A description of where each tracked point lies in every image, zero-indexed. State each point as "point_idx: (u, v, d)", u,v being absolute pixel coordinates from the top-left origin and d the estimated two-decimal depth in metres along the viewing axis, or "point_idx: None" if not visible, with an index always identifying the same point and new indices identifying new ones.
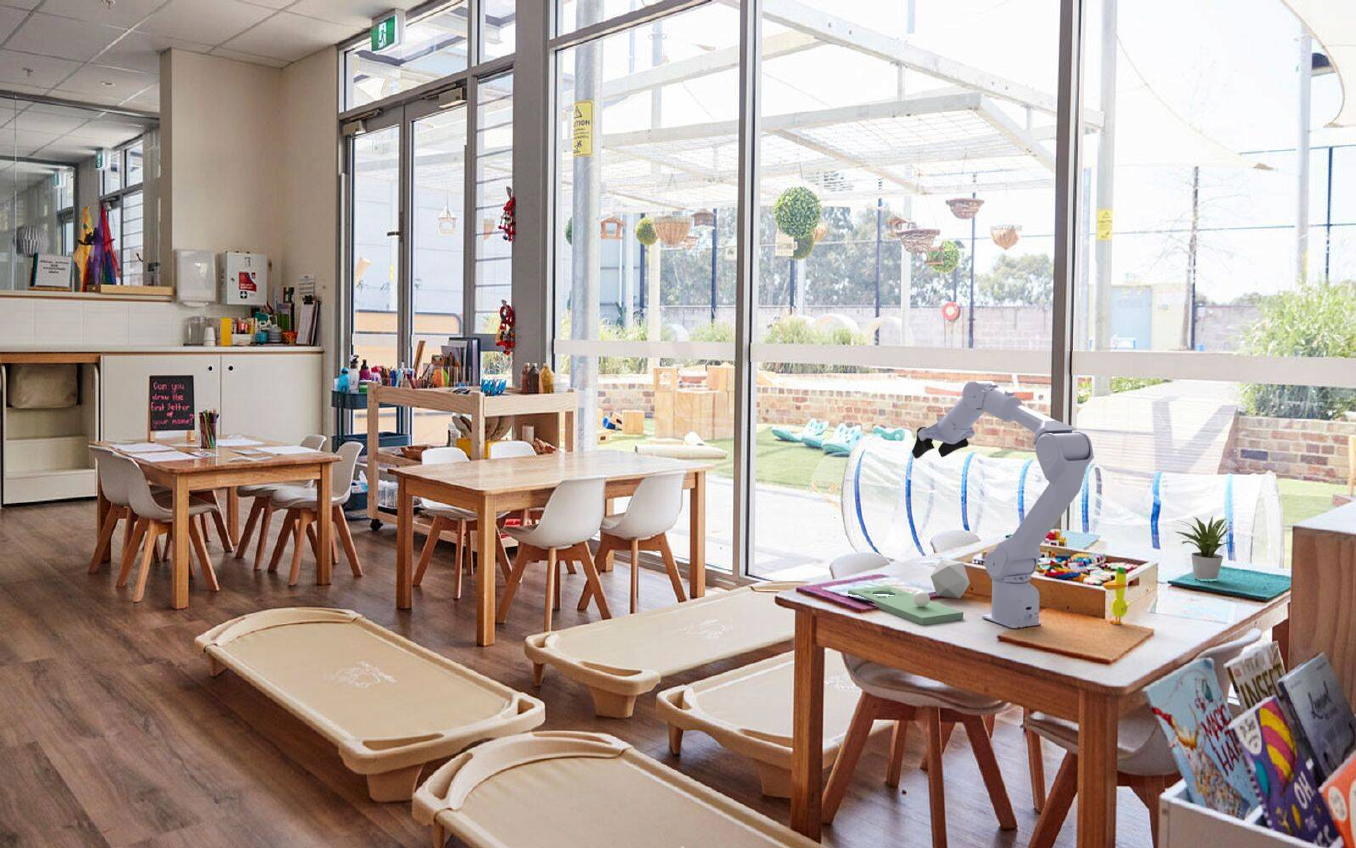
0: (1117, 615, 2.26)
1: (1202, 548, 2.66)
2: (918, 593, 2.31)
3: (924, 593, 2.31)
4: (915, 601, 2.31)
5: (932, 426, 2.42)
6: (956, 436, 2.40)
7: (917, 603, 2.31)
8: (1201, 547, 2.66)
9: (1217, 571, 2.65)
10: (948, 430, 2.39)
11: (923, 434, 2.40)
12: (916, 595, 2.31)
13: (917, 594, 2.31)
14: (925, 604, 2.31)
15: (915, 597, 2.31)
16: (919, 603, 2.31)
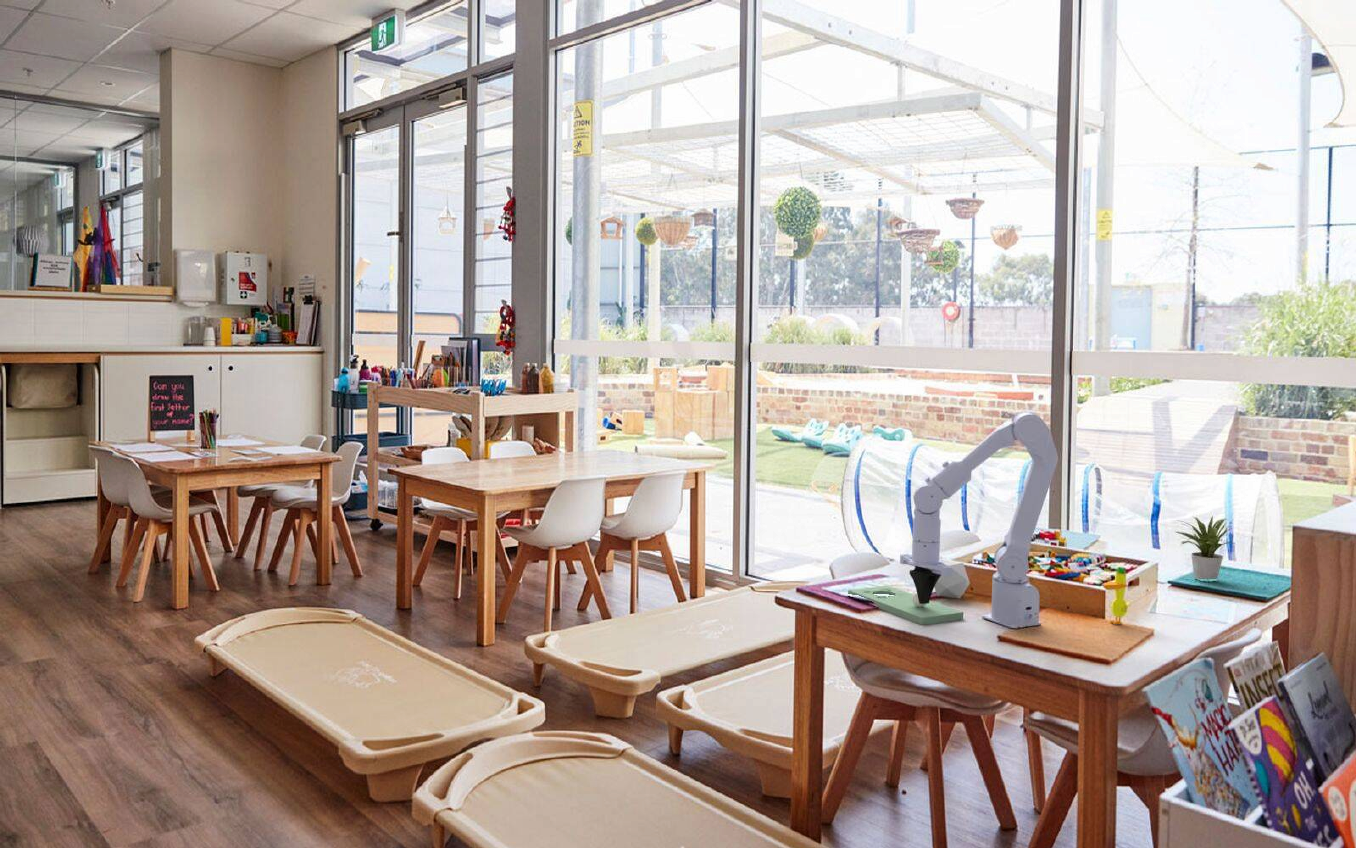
0: (1117, 615, 2.26)
1: (1202, 548, 2.66)
2: (915, 593, 2.32)
3: None
4: (914, 601, 2.32)
5: None
6: None
7: (916, 602, 2.31)
8: (1201, 547, 2.66)
9: (1217, 571, 2.65)
10: (938, 551, 2.29)
11: (950, 568, 2.24)
12: (913, 595, 2.32)
13: (914, 594, 2.32)
14: None
15: (913, 597, 2.32)
16: (918, 601, 2.31)
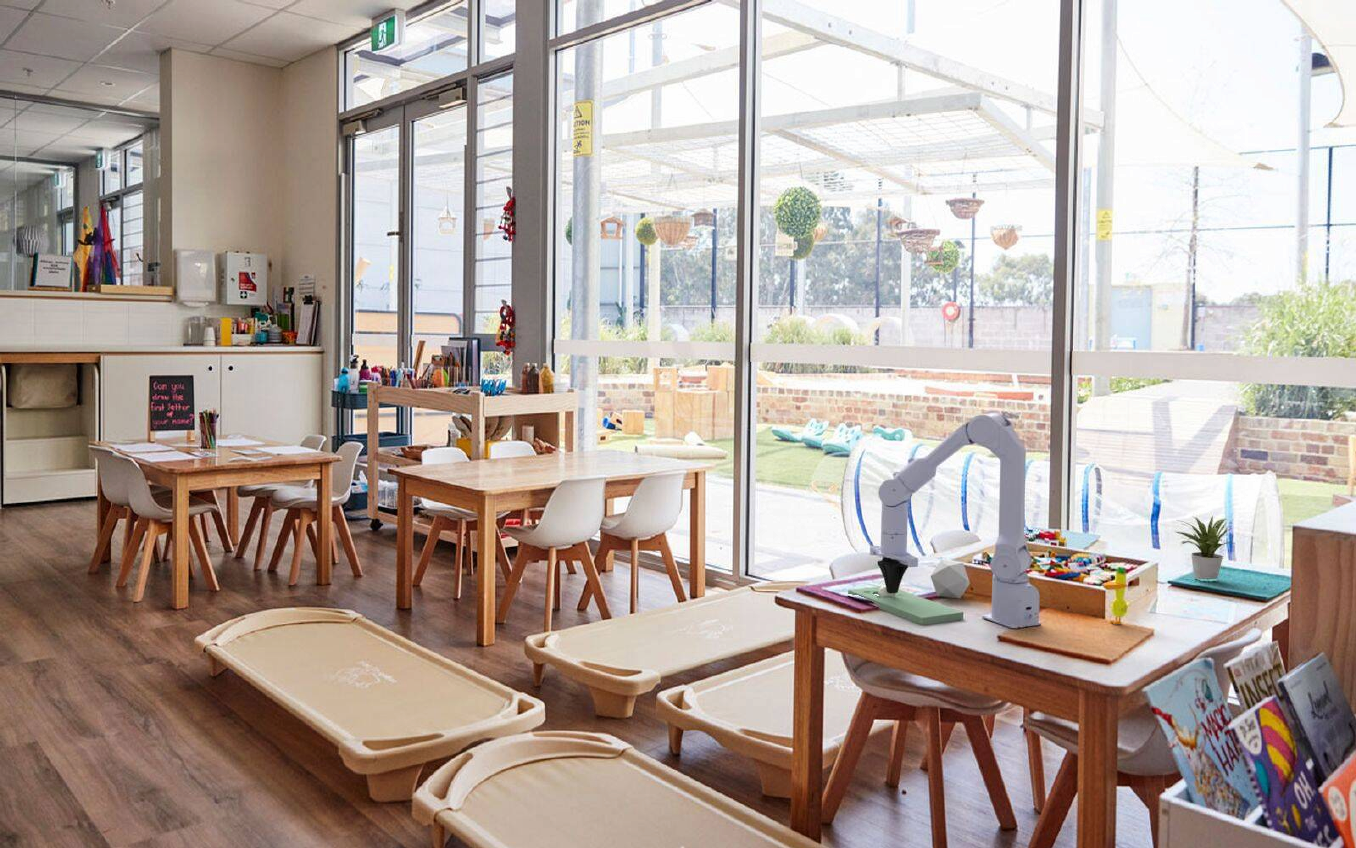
0: (1117, 615, 2.26)
1: (1202, 548, 2.66)
2: None
3: None
4: (881, 594, 2.42)
5: None
6: None
7: (883, 592, 2.42)
8: (1201, 547, 2.66)
9: (1217, 571, 2.65)
10: (905, 543, 2.39)
11: (916, 559, 2.34)
12: (878, 591, 2.43)
13: (878, 591, 2.44)
14: None
15: (879, 592, 2.43)
16: (884, 590, 2.42)
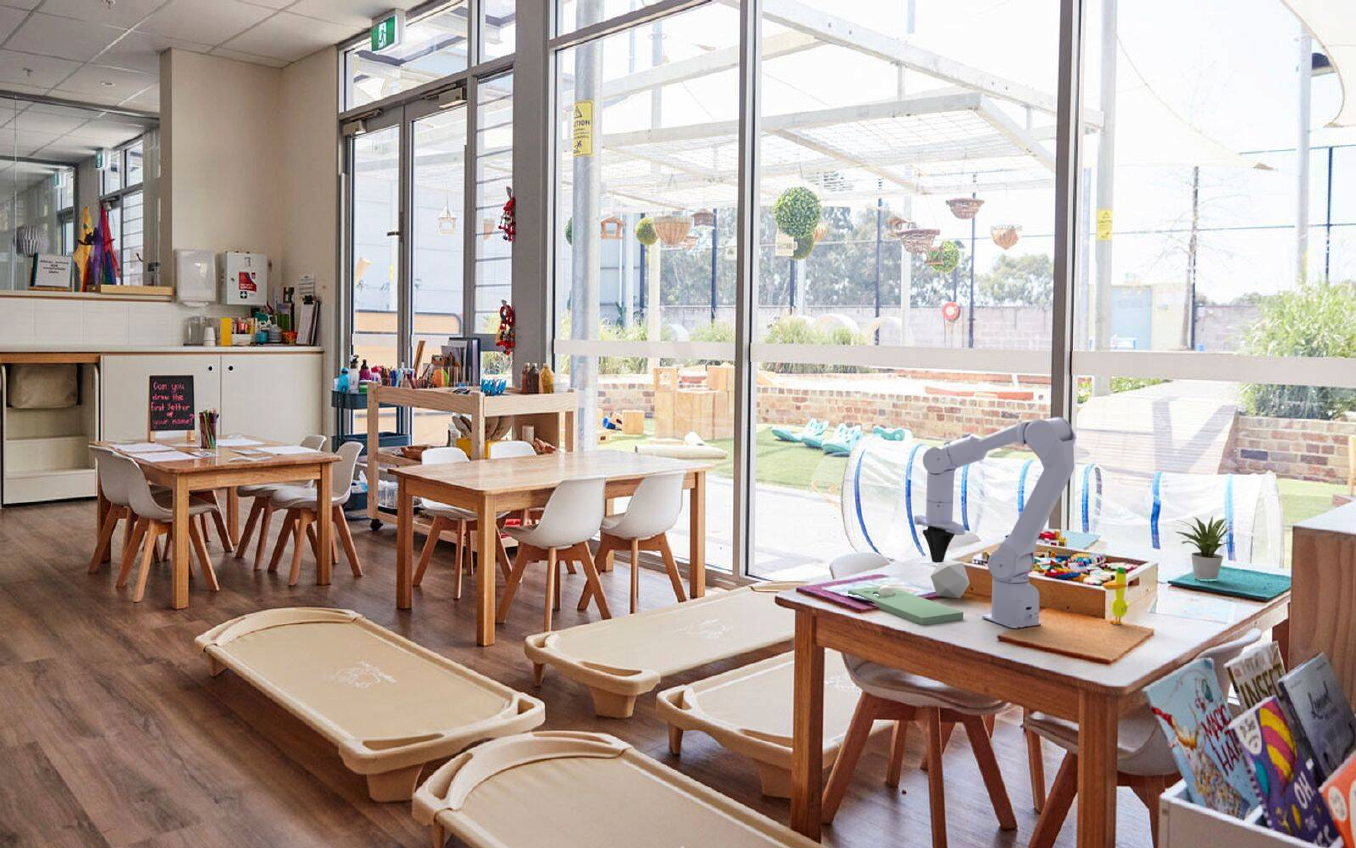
0: (1117, 615, 2.26)
1: (1202, 548, 2.66)
2: None
3: None
4: (881, 594, 2.42)
5: None
6: None
7: (883, 592, 2.42)
8: (1201, 547, 2.66)
9: (1217, 571, 2.65)
10: (952, 511, 2.36)
11: (963, 527, 2.31)
12: (878, 591, 2.43)
13: None
14: (889, 588, 2.42)
15: (879, 592, 2.43)
16: (884, 590, 2.42)
